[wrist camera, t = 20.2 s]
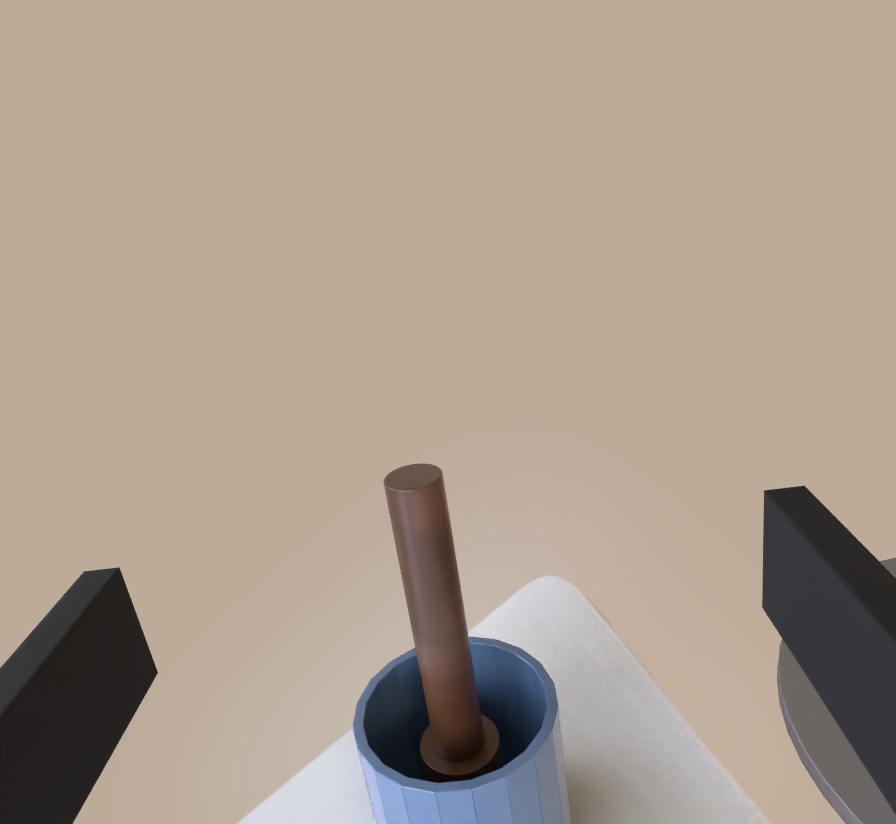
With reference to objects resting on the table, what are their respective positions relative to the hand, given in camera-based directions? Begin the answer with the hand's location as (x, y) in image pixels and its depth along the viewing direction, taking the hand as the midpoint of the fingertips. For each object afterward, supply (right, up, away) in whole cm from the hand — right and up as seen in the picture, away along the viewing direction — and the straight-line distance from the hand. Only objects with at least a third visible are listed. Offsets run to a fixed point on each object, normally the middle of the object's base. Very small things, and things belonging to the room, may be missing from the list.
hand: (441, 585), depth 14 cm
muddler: (+2, -18, +21) cm, 27 cm away
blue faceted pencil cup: (+2, -18, +21) cm, 28 cm away
